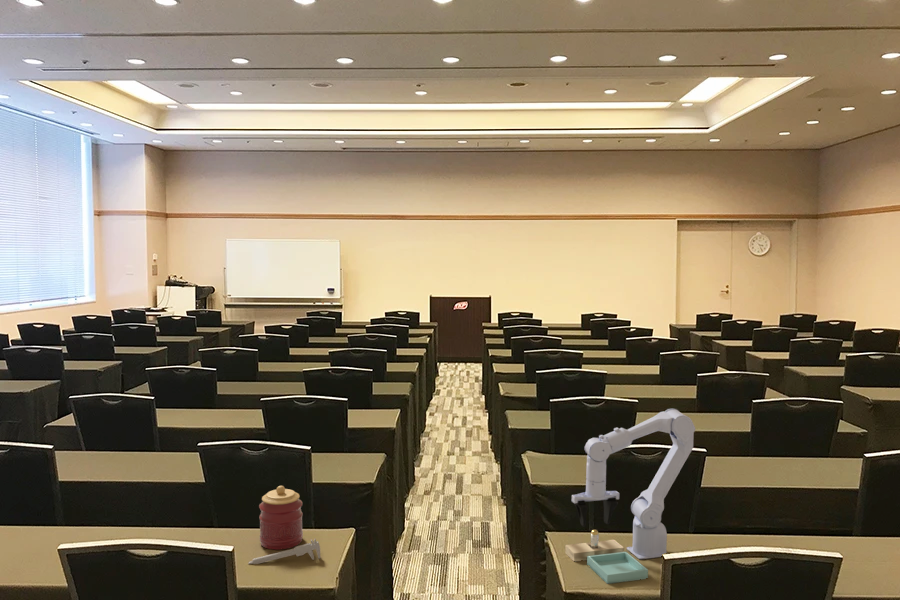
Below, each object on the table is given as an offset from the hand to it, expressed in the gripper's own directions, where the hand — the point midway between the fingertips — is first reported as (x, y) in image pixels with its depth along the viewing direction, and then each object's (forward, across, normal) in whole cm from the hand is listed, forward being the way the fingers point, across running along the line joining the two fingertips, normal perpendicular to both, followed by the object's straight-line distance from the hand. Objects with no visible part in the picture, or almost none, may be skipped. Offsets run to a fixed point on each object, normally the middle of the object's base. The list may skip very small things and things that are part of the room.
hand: (594, 524), depth 222 cm
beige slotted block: (+9, 0, 0) cm, 9 cm away
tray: (+9, -1, +12) cm, 15 cm away
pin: (+9, 0, 0) cm, 9 cm away
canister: (+10, +89, -33) cm, 96 cm away
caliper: (+10, +89, -19) cm, 92 cm away
